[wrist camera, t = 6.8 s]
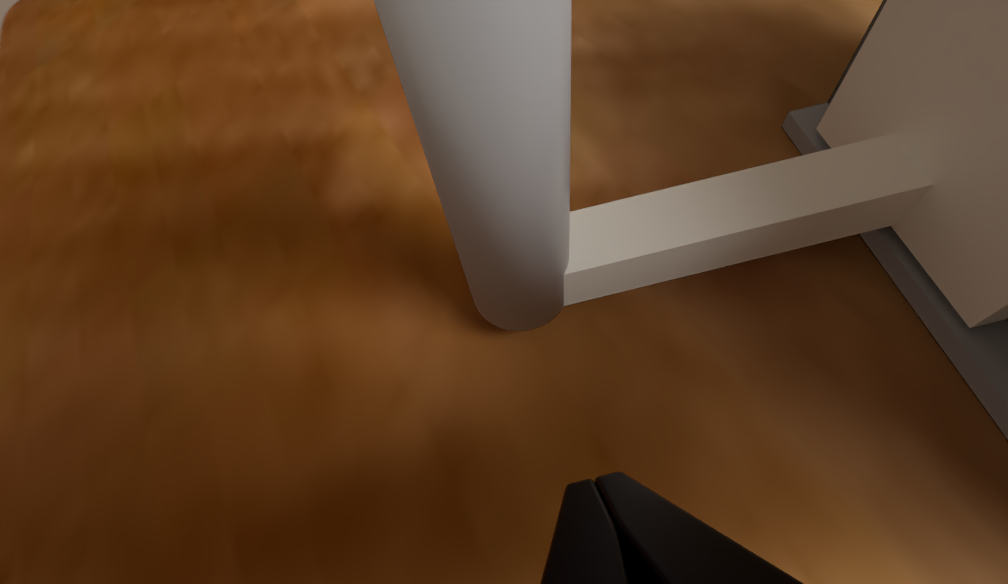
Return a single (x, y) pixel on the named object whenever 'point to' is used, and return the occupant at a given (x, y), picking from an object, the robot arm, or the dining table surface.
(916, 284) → the box
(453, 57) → the grey u-shaped bracket
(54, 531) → the dining table surface
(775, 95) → the dining table surface
